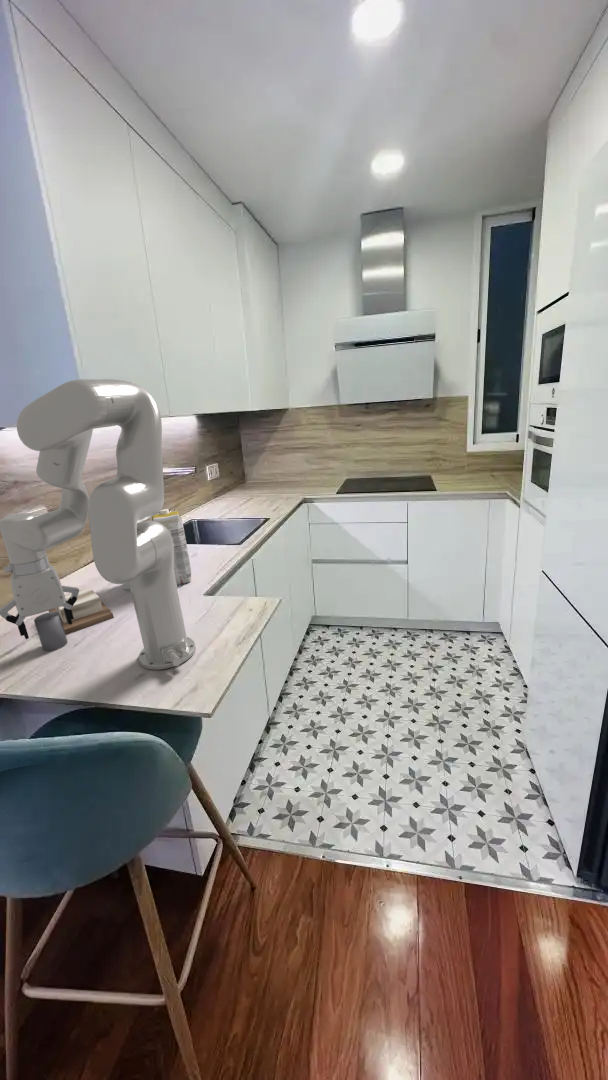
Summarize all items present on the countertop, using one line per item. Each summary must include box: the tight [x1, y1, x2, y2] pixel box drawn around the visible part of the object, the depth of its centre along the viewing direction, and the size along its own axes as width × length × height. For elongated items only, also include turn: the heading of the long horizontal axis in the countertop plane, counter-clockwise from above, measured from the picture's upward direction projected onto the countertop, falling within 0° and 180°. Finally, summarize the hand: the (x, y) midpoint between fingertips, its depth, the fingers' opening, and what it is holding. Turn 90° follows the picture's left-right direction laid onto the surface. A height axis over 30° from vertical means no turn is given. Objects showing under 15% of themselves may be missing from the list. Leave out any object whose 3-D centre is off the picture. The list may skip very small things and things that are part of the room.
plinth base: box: [48, 587, 114, 636], centre depth 124 cm, size 18×13×6 cm
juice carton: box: [151, 508, 192, 586], centre depth 140 cm, size 9×8×24 cm
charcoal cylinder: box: [33, 611, 68, 652], centre depth 109 cm, size 6×6×8 cm
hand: (48, 629), depth 109 cm, fingers open, 9 cm apart
